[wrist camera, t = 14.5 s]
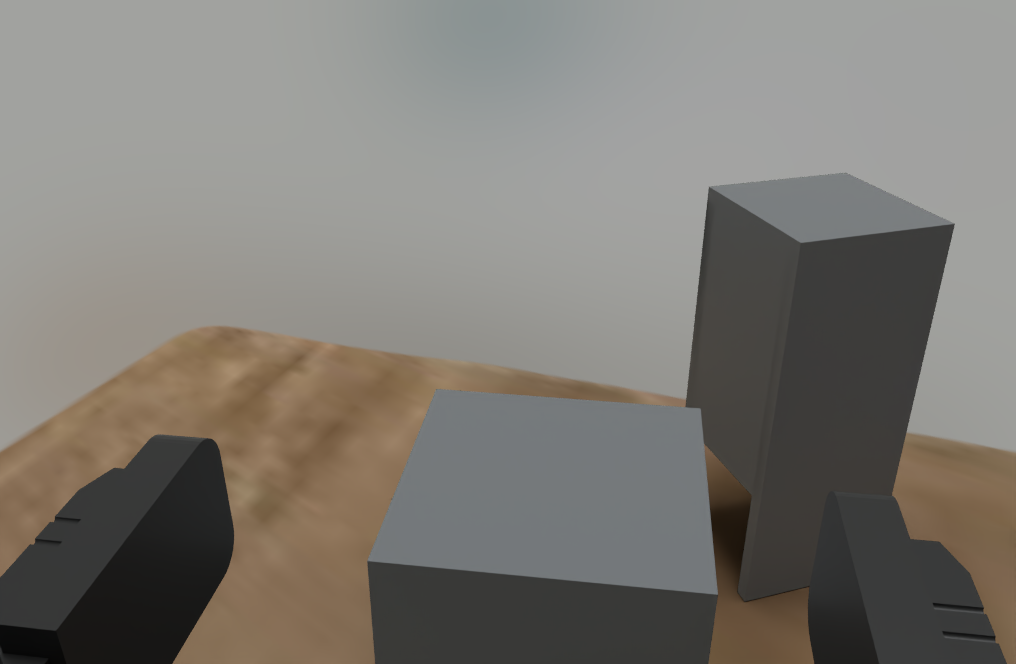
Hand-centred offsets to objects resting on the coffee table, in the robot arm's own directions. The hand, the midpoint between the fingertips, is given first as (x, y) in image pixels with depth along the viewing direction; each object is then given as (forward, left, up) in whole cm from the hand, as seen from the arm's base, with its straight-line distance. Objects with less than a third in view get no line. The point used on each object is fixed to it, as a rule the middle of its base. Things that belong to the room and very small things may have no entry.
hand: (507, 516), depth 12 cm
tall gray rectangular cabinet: (-13, -23, -20) cm, 34 cm away
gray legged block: (-1, -6, -20) cm, 21 cm away
